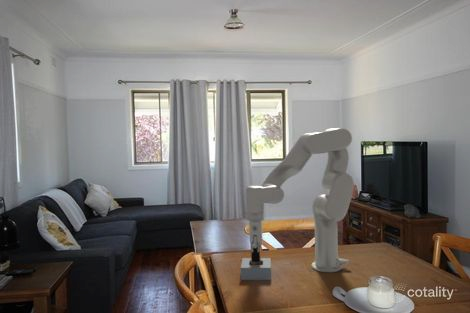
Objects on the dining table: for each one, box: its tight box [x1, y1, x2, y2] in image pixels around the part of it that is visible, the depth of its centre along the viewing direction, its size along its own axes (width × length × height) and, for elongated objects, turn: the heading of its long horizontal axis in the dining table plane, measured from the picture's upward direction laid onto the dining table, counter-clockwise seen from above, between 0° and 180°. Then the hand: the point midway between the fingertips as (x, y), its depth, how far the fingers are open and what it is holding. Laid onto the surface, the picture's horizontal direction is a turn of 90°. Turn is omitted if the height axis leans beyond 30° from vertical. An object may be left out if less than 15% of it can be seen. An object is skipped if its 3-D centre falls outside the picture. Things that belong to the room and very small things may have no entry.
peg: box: [250, 243, 262, 265], centre depth 158 cm, size 4×4×10 cm
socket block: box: [240, 257, 272, 281], centre depth 159 cm, size 12×12×5 cm
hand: (255, 259), depth 159 cm, fingers closed on peg, 3 cm apart
